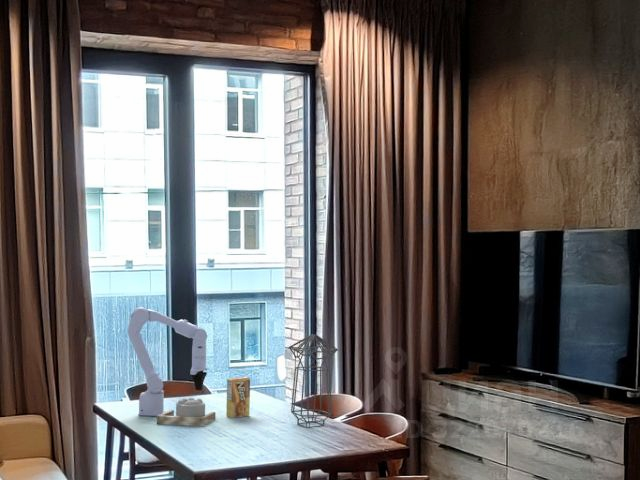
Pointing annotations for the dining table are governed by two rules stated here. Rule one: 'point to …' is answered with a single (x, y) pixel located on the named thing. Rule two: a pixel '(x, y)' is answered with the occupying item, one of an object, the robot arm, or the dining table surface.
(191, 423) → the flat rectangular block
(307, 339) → the geometric lantern
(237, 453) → the dining table surface
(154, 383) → the robot arm
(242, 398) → the candy box
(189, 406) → the lumpy-topped squat cylinder
